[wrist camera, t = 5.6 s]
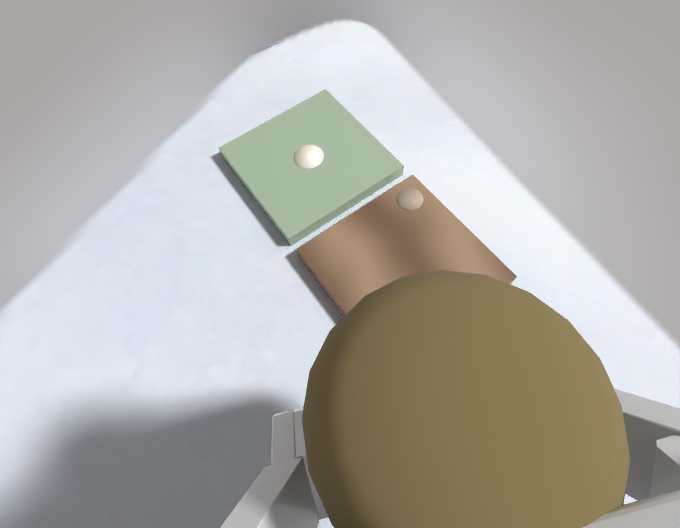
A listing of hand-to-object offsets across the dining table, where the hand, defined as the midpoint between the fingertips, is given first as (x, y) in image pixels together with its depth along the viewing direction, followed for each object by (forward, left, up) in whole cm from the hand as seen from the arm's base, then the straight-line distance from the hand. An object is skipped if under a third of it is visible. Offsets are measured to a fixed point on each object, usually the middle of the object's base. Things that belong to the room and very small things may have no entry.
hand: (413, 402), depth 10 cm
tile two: (+7, +7, -14) cm, 17 cm away
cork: (0, -1, -6) cm, 6 cm away
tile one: (+7, +18, -14) cm, 24 cm away
